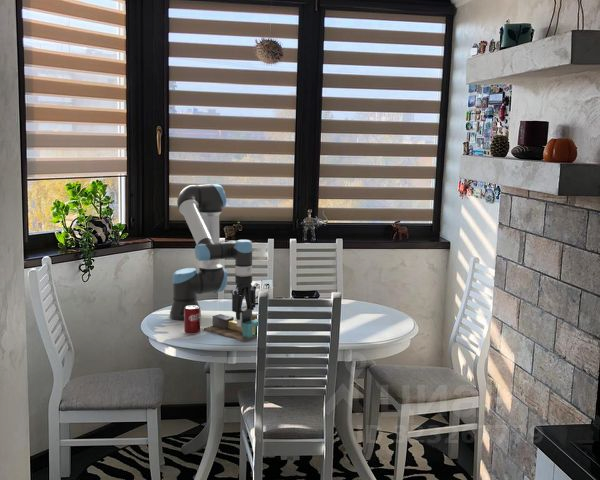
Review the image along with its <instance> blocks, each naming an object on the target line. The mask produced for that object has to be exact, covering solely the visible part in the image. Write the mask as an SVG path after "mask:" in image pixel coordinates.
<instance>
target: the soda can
mask: <svg viewBox="0 0 600 480" xmlns="http://www.w3.org/2000/svg"><path fill="white" fill-rule="evenodd" d="M200 311H201V307H200V305H199V306H196V305H189V306H185V308H184V320H183V323H184V326H183V327H184V329H183V330H184V333H185V334H186V335H197V334H199V333H200V332H201V316H200Z"/></svg>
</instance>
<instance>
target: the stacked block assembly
mask: <svg viewBox="0 0 600 480" xmlns="http://www.w3.org/2000/svg"><path fill="white" fill-rule="evenodd" d="M234 318H235V317H233V316H230V315H227V314H226V315H225V314H223V313H219V314H216V315H215V314H214V315H212V319H211V320H212V326H213V327H216V328H220V329H223V330H228V329H230V328H227V322H226V320H230V319H231V320H235V319H234ZM255 326H256V333H254V334H252V327H255ZM257 326H258V319H255V320H251V321H248V322H244V323H242V337H244V338H247V339H249V338H252V337H255V336H257Z"/></svg>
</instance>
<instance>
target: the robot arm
mask: <svg viewBox="0 0 600 480" xmlns="http://www.w3.org/2000/svg"><path fill="white" fill-rule="evenodd" d="M176 202H177V203H176V204H177V205H176V206H177V208H178V212H179V214H181V215H183V217H184V220H185V221H186V225H187V226H188V229H189V231H190V232H191V234H192V238H193V240H194V241H195V248H194V255H195V258H196V259H197V260H198V261H200V262H201V261H202V262H201V264H200V265H199V268H198V269H199V270H197V269H196V268H194V267H187V268H186V267H185V268H182V269H181V268H180V269H178V270H175V272H173V273H172V281H171V282H172V299H173V300H172V305H171V309H170V311H169V318H171V319H172V320H178V321H184V308H185V306H189V305H196V306H199V307H200V305H199V303H198V295H203V294H204V295H205V294H216V293H221V292H224V290H225V289H226V287H227V284H228V273H227V270H226V269H225V268H224V266H223V264H222V263H221V262H220V260H226V259H234V260H235V264H234V265H235V267H234V268H235V270H234V272H235V277H234V280H235V284H236V287H235V289H231V290H230V293H231V296H232V297H231V301H232V302H231V308H232V309H231V312H234V313H235V320H236V321H237V326H239V327H242V313H241V308H242V307H243V306H242V305H243V301H244V298H245V304H246V305H245V306H247V308H249V309H251V316H252V314H253V311H254V310H255V309H254V308H256V303H257V302H256V301H257V300H256V290H257V286H255V285H253V284H252V283H253V275H252V274H253V242H252V240H250V239H238V240H227V241H224V242H220V215H221V214H222V213H223V208H225V207H226V206H227V205H226V204H227V196H226V192H225V190H224V188H223V186H222V185H220V184H218V183H217V184H214V183H210V184H208V183H207V184H191V185H187V186H185V187H184V188H183V189H182V190H181V191H180V192H179V195H178V197H177V201H176ZM201 316H202V312H201V310H200V317H201Z"/></svg>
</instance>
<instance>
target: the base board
mask: <svg viewBox="0 0 600 480" xmlns="http://www.w3.org/2000/svg"><path fill="white" fill-rule="evenodd" d="M203 331H204V332H210V333H213V334H216V335H219V336H224V337H226V338H230V339H232V340H233V339H234V340H238V341H240V342H244V343H246V342H248V341H252V340H255V339H258V338H257V336H255V337H252V338H249V339H247V338H244V337H242V332H240V331H237V330H233V329H228V330H223V329H220V328H216V327H213V325H211V326H206V327H203Z"/></svg>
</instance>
